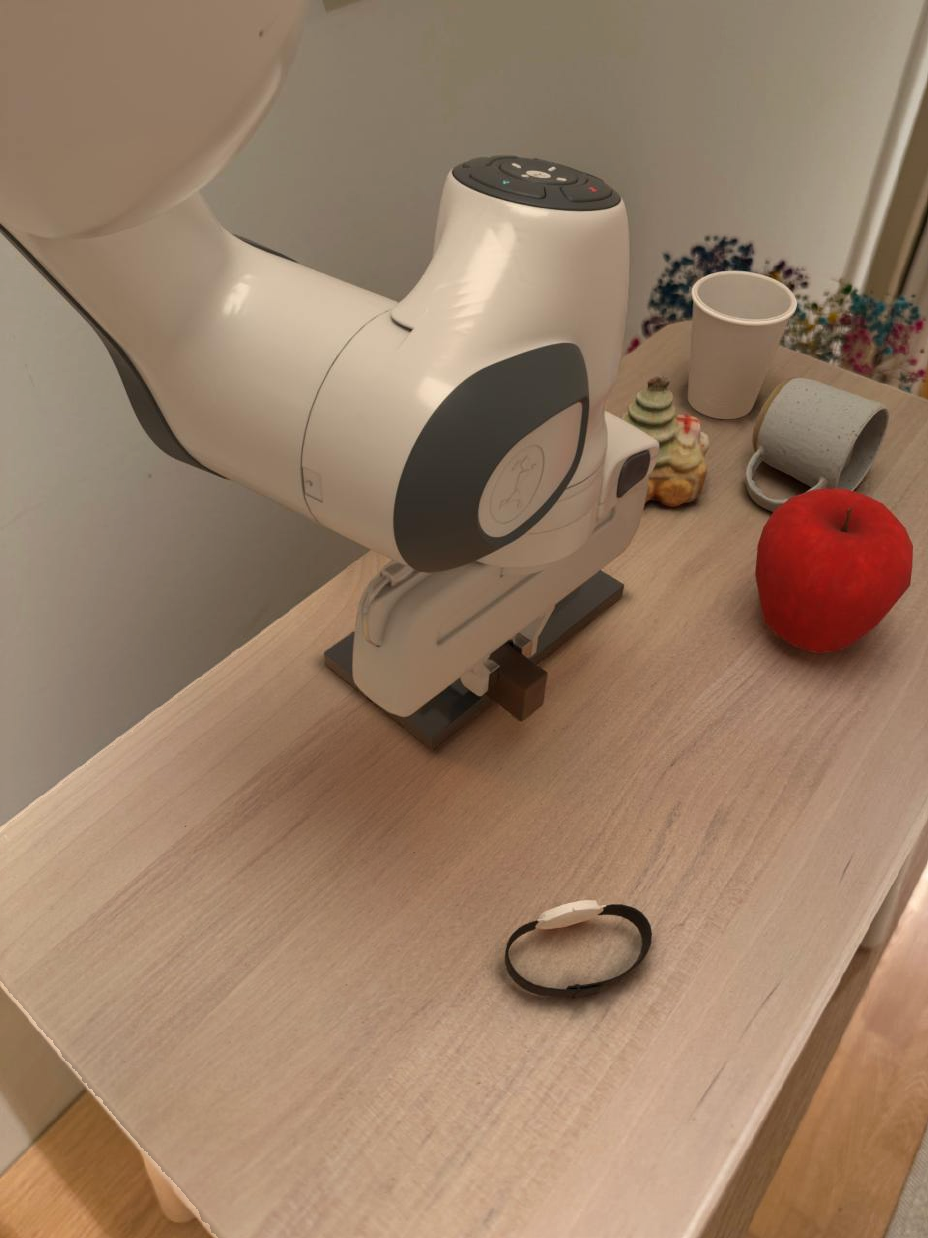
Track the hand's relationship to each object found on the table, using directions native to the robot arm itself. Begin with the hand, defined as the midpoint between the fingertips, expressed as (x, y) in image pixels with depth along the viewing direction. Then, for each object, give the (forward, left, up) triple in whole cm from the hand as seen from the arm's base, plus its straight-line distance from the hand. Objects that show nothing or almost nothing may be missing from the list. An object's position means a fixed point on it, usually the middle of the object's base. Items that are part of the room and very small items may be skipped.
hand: (498, 669), depth 64 cm
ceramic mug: (+35, -1, -5) cm, 35 cm away
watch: (-9, -14, -5) cm, 17 cm away
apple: (+21, -10, -5) cm, 24 cm away
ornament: (+26, +7, -5) cm, 27 cm away
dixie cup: (+40, +10, -5) cm, 41 cm away
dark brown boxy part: (0, +3, -2) cm, 3 cm away
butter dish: (+5, +6, -5) cm, 9 cm away
